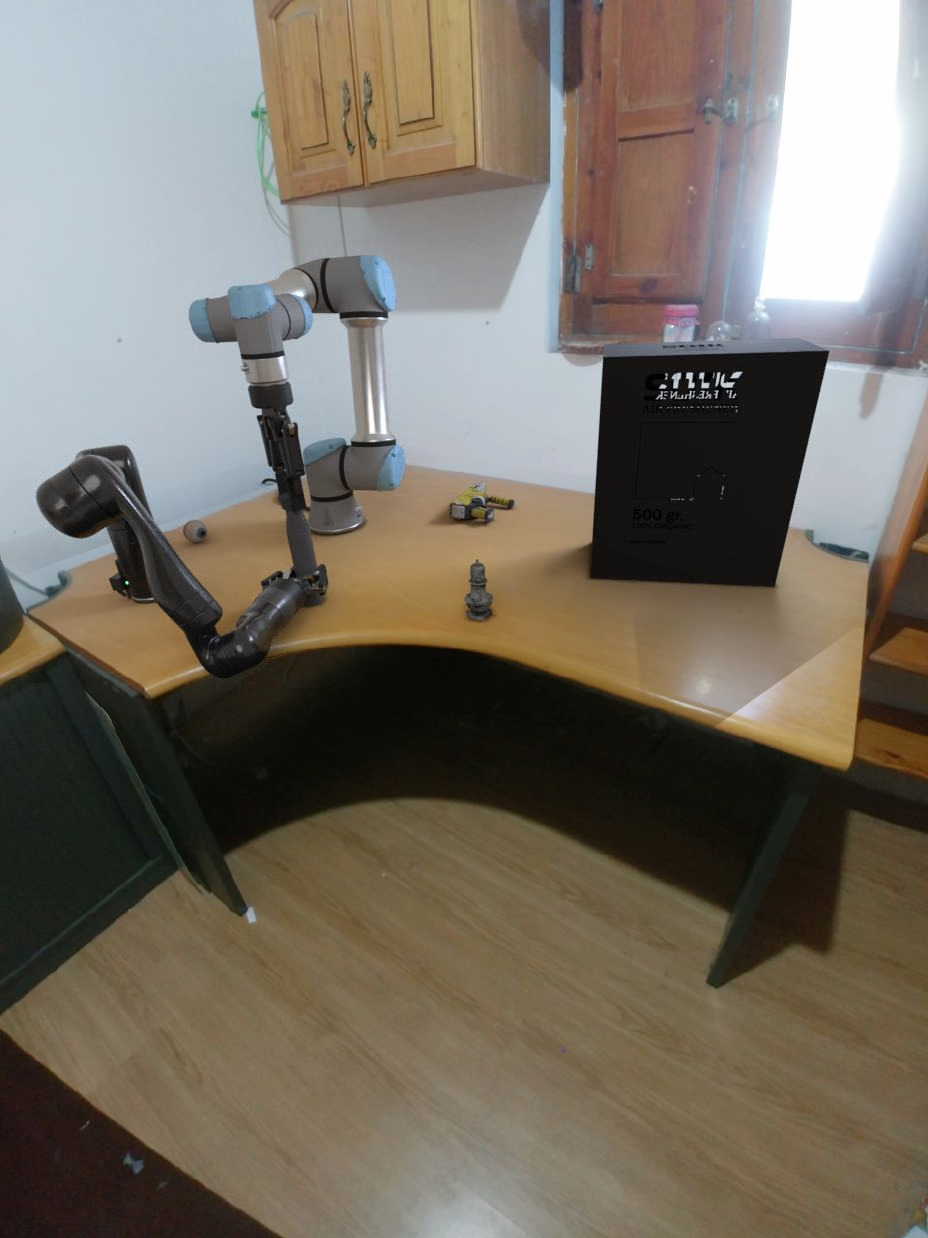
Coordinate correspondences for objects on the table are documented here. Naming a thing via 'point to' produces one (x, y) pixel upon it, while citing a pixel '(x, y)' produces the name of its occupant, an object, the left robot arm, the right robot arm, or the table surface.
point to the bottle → (302, 549)
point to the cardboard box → (701, 458)
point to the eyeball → (195, 531)
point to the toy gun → (476, 504)
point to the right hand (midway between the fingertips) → (293, 506)
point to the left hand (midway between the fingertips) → (311, 567)
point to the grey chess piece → (478, 594)
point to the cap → (285, 501)
